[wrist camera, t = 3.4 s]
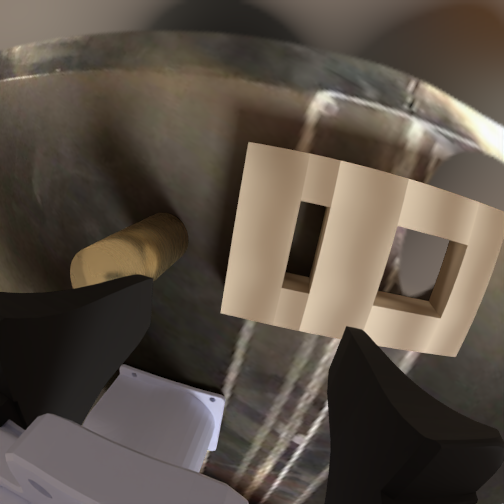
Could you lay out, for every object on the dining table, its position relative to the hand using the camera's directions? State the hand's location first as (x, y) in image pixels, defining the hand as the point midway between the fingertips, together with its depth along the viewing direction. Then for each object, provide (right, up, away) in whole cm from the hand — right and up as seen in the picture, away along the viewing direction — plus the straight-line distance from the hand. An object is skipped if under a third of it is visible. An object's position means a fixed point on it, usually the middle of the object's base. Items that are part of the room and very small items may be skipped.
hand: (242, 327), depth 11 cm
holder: (+7, +3, +8) cm, 11 cm away
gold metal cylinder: (-5, +4, +10) cm, 12 cm away
